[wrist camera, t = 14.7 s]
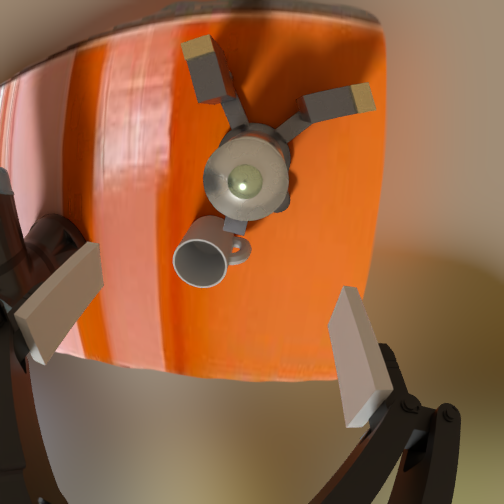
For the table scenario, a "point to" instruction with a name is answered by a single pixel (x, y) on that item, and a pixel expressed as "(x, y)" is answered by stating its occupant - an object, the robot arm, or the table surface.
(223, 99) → the grey rectangular block
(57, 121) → the table surface
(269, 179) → the stand
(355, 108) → the tan-tipped grey block
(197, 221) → the cup
